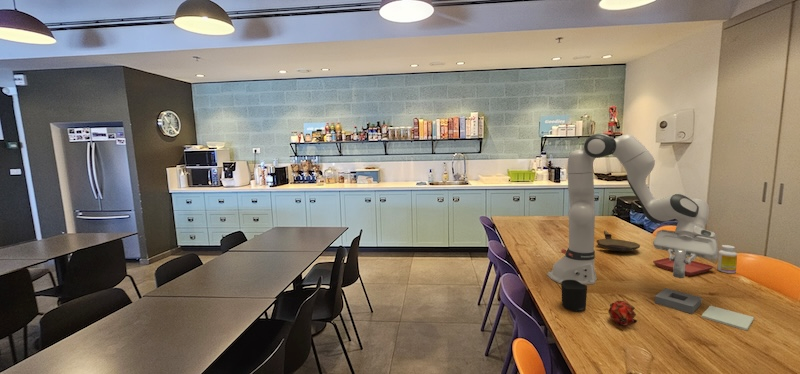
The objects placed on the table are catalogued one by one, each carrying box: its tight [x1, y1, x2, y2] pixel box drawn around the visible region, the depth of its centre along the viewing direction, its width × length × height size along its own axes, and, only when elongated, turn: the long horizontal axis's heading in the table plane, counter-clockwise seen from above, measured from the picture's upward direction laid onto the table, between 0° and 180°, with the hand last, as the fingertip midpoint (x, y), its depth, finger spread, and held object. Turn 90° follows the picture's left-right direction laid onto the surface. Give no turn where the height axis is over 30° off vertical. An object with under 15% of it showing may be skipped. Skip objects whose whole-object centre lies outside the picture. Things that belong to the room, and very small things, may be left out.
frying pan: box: [596, 230, 641, 252], centre depth 205 cm, size 22×30×8 cm
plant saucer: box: [652, 257, 715, 277], centre depth 170 cm, size 18×18×3 cm
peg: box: [672, 249, 687, 279], centre depth 133 cm, size 4×4×11 cm
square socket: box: [654, 287, 703, 315], centre depth 135 cm, size 12×12×3 cm
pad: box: [701, 305, 755, 331], centre depth 123 cm, size 12×12×1 cm
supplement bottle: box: [716, 244, 738, 274], centre depth 164 cm, size 7×7×13 cm
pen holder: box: [560, 280, 588, 313], centre depth 136 cm, size 9×9×10 cm
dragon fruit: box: [607, 300, 638, 326], centre depth 123 cm, size 8×8×12 cm
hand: (679, 261), depth 133 cm, fingers closed on peg, 4 cm apart
